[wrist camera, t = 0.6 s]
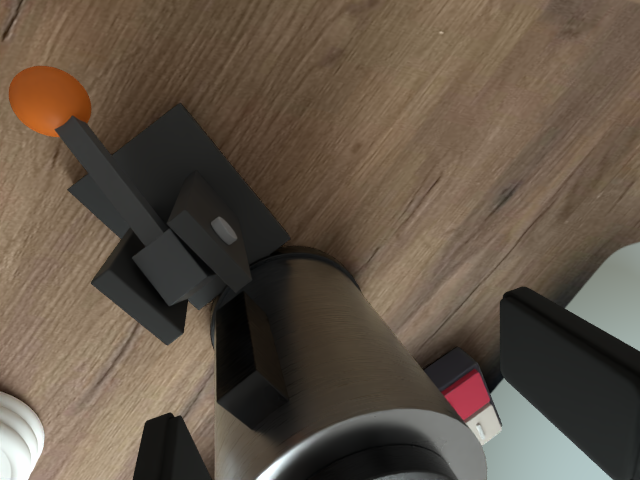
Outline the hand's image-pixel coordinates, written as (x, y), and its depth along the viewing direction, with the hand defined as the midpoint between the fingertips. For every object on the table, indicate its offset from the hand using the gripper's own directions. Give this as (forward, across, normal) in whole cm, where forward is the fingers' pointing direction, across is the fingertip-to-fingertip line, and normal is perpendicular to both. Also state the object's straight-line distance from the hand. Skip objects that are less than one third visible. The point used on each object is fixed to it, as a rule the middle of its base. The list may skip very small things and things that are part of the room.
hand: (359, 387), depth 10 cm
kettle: (+20, 0, +10) cm, 22 cm away
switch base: (+20, +5, -1) cm, 21 cm away
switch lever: (+13, +7, -5) cm, 16 cm away
